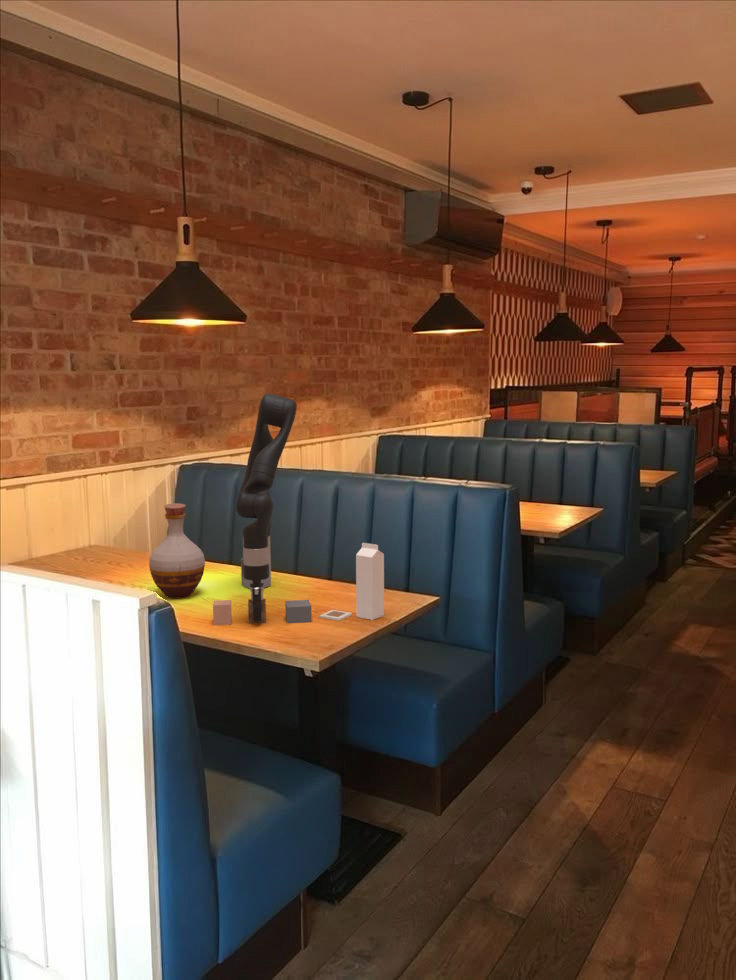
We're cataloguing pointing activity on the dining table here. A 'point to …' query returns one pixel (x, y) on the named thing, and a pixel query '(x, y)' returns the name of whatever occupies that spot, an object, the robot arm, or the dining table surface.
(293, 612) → the charcoal block
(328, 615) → the tile
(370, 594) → the milk
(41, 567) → the dining table surface
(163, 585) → the jug
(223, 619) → the terracotta block
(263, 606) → the walnut block
